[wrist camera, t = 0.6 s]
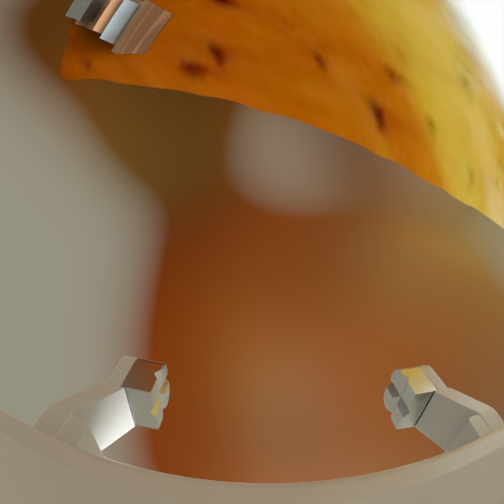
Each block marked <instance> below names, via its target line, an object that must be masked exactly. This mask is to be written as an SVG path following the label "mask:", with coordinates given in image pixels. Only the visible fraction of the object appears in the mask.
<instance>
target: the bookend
mask: <svg viewBox="0 0 504 504" xmlns="http://www.w3.org/2000/svg"><path fill="white" fill-rule="evenodd" d="M105 1H106V0H74V2H73V3H72V5H71V6H70V8H69V10H68V12H67V13H66V15H65V16H67V17H70V18H73V19H76V20H79V21H86V22H92V21H93V20H94V18H95V17H96V15H97V13H98V12H99V10H100V9H101V7H102V6H103V4H104V3H105Z"/></svg>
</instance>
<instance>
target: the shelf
mask: <svg viewBox="0 0 504 504" xmlns="http://www.w3.org/2000/svg"><path fill="white" fill-rule="evenodd" d="M171 17H172V14H170V13H169V12H167V11H166V10H164V9H162V8H161V7H159V6H157V5H156V4H154V3H152V2H150V1H148V0H145V1H144V2H143V1H141V0H106V1H105V3H104V4H103V6H102V7H101V9H100V10H99V12H98V13H97V15H96V17H95V18H94V20H93V21H92V22H86V21H79V20H76V22H75V23H74V24H77V25H79V26H82V27H85V28H87V29H90V30H92V31H95V32H97V33H100V34H102V35H101V37H100V39H103V40H105V41H107V42H109V43H112V44H114V45H115V46H114V47H113V49H112V51H111V52H113V53H115V54H145V53H146V52H147V50H148V49H149V47H150V46H151V44H152V43H153V41H154V40H155V38H156V37H157V36H158V34H159V33H160V31H161V30H162V29H163V27H164V26H165V25H166V23H167V22H168V21H169V19H170V18H171Z"/></svg>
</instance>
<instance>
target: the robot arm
mask: <svg viewBox="0 0 504 504" xmlns="http://www.w3.org/2000/svg"><path fill="white" fill-rule="evenodd" d="M167 373H168V372H167V366H166V364H165V363H160V362H154V361H149V360H144V359H139V358H133V357H129V356H124V357H122V359H121V360H120V362H119V363H118V365H117V367H116V368H115V369H114V371H113V373H112V374H111V376H110V377H109V379H108V380H107V382H106V383H104V382H101V383H99V384H97V385H95V386H93V387H90V388H88V389H86V390H83V391H81V392H79V393H76V394H74V395H72V396H69V397H67V398H65V399H62V400H60V401H57V402H55V403H53V404H50V405H49V406H48V407H47V409H46V410H45V411H44V413H43V414H42V416H41V417H40V418H39V420H38V421H37V422H36V424H35V425H34V427H31V426H29V425H28V424H26V423H24V422H22V421H20V420H19V419H17V418H15V417H13V416H12V415H10V414H8V413H7V412H5V411H3V410H1V409H0V504H504V422H503V420H502V419H501V417H500V416H499V415H498V414H497V412H496V411H495V410H494V409H493V408H492V407H490V406H488V405H486V404H484V403H481V402H479V401H477V400H475V399H473V398H471V397H469V396H467V395H464V394H462V393H460V392H458V391H456V390H454V389H452V388H447V387H446V386H445V384H444V383H443V382H442V381H441V379H440V378H439V377H438V375H437V374H436V373H435V372H434V371H433V369H432V368H431V367H430V366H428V365H424V366H418V367H413V368H405V369H397V370H395V371H394V372H393V374H392V376H391V381H392V383H391V384H390V385H388V386H387V388H386V390H385V393H384V404H385V407H386V409H387V410H388V411H390V412H391V413H392V415H391V419H392V421H393V423H394V425H395V427H396V429H402V428H407V427H413V426H415V427H416V428H417V429H418V430H419V431H420V432H422V433H423V434H424V435H426V436H427V437H428V438H430V439H431V440H432V441H434V442H435V443H436V444H437V445H439V446H440V447H441V448H443V449H444V450H445V452H444V453H443V454H440V455H437V456H435V457H432V458H428V459H425V460H423V461H419V462H416V463H412V464H409V465H406V466H402V467H398V468H394V469H390V470H386V471H381V472H376V473H372V474H367V475H361V476H355V477H350V478H343V479H335V480H327V481H317V482H306V483H305V482H304V483H284V484H283V483H281V484H258V483H256V484H255V483H234V482H222V481H221V482H220V481H211V480H203V479H195V478H189V477H182V476H177V475H171V474H165V473H161V472H156V471H152V470H147V469H143V468H139V467H135V466H132V465H128V464H124V463H120V462H117V461H114V460H111V459H108V458H105V457H104V455H103V454H102V452H101V450H103V449H104V448H105V447H107V446H108V445H110V444H111V443H112V442H114V441H115V440H117V439H118V438H120V437H121V436H122V435H124V434H125V433H126V432H128V431H129V430H130V429H132V428H133V427H134V426H135V425H139V426H144V427H149V428H154V429H159V427H160V424H161V421H162V418H163V411H162V409H164V408H165V407H166V406H167V403H168V399H169V382H168V381H167V380H166V379H165V378H166V375H167Z"/></svg>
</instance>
